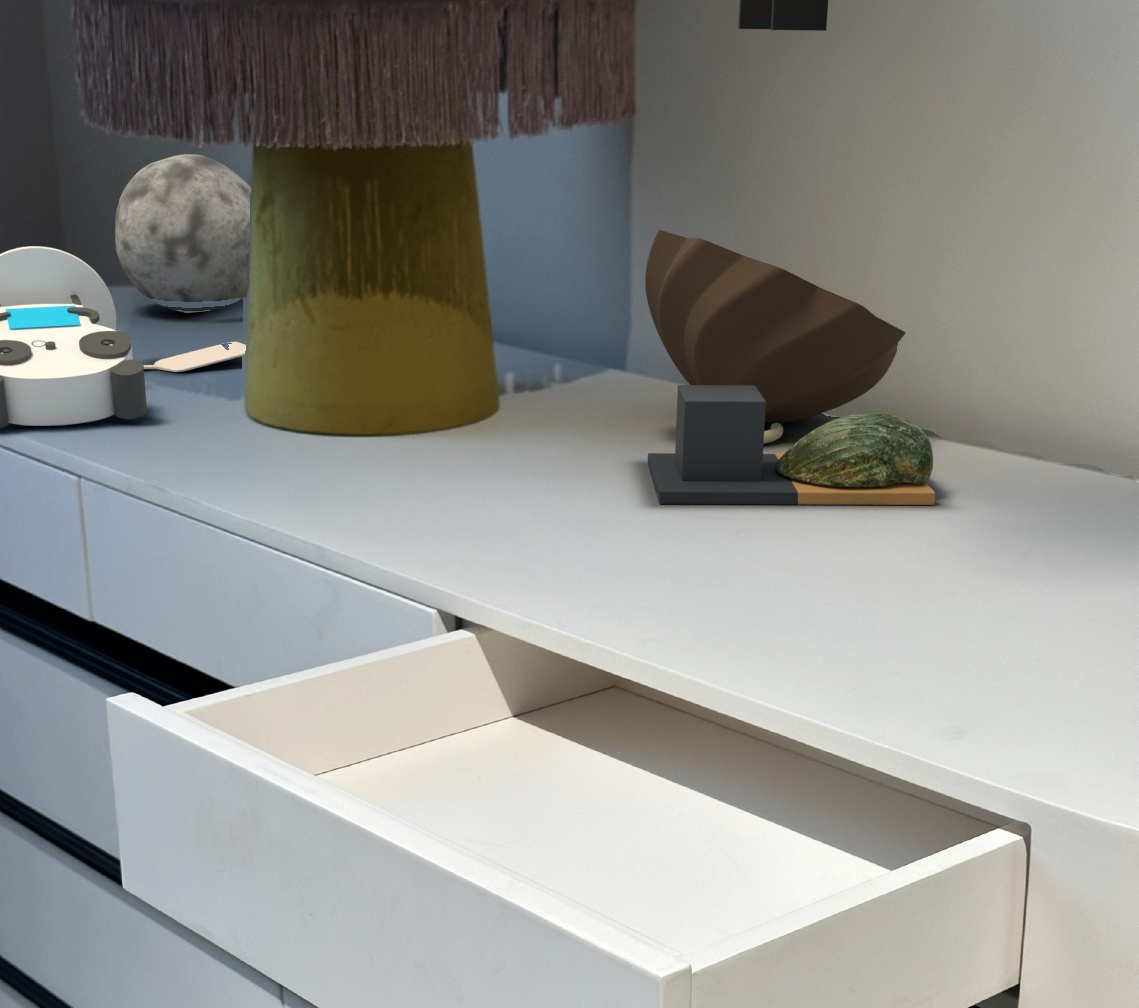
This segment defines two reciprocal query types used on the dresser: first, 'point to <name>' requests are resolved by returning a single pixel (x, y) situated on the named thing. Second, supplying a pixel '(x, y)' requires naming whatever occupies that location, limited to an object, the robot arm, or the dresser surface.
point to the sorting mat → (774, 488)
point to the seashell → (861, 453)
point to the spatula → (199, 358)
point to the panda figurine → (62, 344)
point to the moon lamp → (185, 231)
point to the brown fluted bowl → (763, 329)
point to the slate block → (719, 433)
